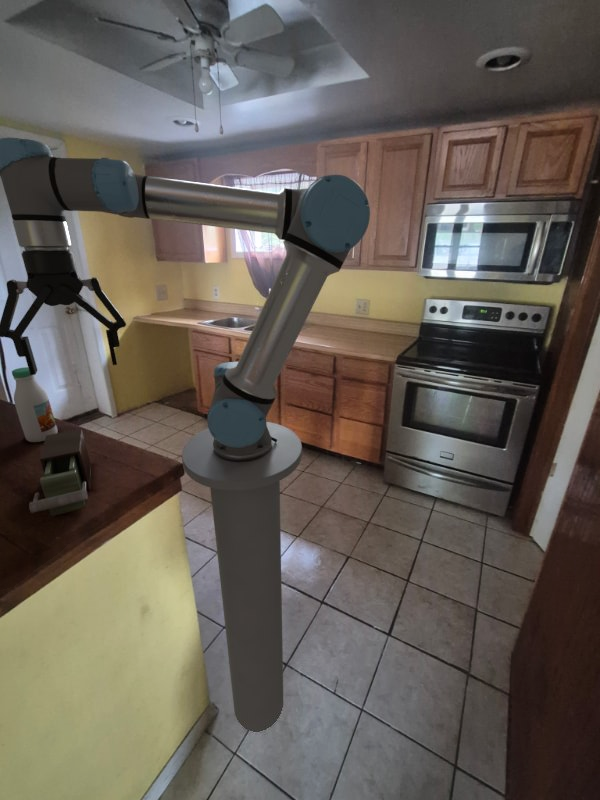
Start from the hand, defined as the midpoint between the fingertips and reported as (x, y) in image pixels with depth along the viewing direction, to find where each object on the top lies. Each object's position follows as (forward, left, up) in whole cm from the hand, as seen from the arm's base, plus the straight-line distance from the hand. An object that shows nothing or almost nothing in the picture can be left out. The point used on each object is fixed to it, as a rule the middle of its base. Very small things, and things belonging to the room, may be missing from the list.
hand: (76, 367), depth 72 cm
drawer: (+5, +6, -28) cm, 29 cm away
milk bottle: (+27, -27, -29) cm, 48 cm away
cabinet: (+9, -4, -29) cm, 30 cm away
